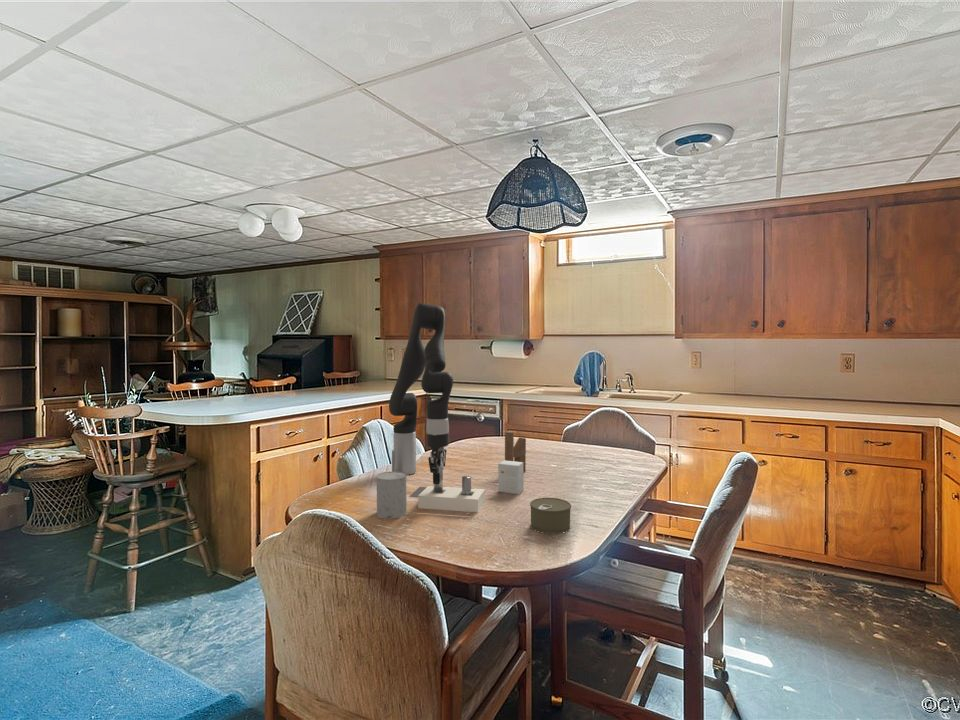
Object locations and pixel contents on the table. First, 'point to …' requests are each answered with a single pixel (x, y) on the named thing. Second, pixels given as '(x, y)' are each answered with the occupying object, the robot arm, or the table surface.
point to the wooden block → (515, 449)
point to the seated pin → (466, 485)
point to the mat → (417, 492)
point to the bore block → (451, 499)
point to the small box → (510, 477)
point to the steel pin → (439, 487)
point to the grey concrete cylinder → (391, 495)
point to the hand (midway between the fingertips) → (437, 482)
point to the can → (550, 515)
